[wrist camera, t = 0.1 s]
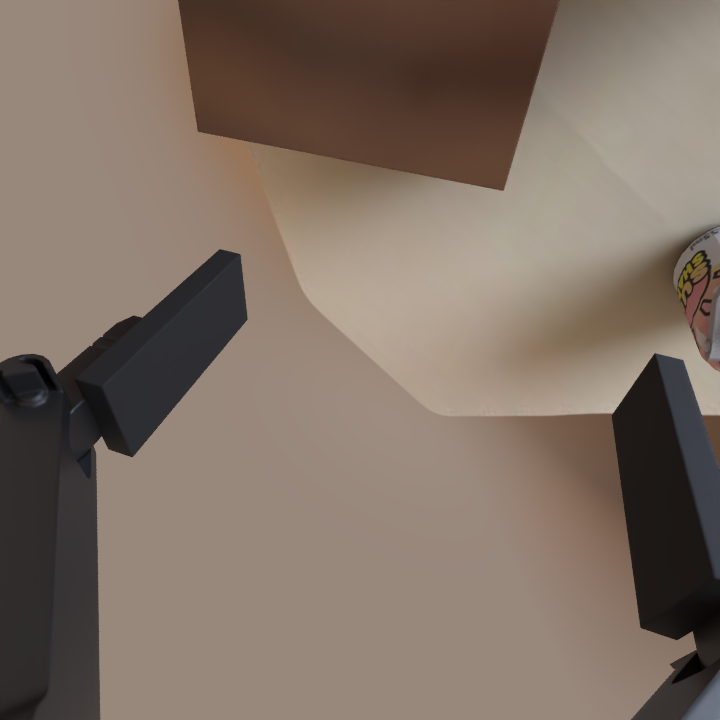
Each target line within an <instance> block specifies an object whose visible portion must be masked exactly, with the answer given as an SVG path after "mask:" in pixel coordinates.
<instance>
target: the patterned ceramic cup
mask: <svg viewBox="0 0 720 720" xmlns="http://www.w3.org/2000/svg"><path fill="white" fill-rule="evenodd" d="M673 284H674V286H675V289H676V292H677V294H678V297H679V299H680V302H681V305H682V307H683V310H684V312H685V315H686V318H687V320H688V323H689V326H690V328H691V331H692V333H693V336H694V339H695V341H696V344H697V346H698V349H699V352H700V354H701V357H702V358H703V359H704V360H705V361H706V362H708V363H709V364H710V365H711V366H712V367H713V368H714V369H715V370H717V371H720V226H719V227H716V228H714V229H711V230H710V231H708V232H706V233H705V234H703V235H702V236H700V237H699V238H697V239H696V240H694V241H693V242H692V243H691V244H690V245H689V247H688V248H687V249H686V250H685V251H684V252H683V253H682V254H681V256H680V258H679V260H678V263H677V265H676V267H675V269H674V279H673Z"/></svg>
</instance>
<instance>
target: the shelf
mask: <svg viewBox="0 0 720 720" xmlns="http://www.w3.org/2000/svg"><path fill="white" fill-rule="evenodd" d="M559 1H560V0H178V2H179V9H180V15H181V22H182V29H183V35H184V42H185V49H186V56H187V62H188V69H189V75H190V82H191V89H192V96H193V102H194V108H195V116H196V122H197V129H198V132H203V133H208V134H214V135H218V136H223V137H229V138H234V139H239V140H244V141H249V142H254V143H260V144H265V145H270V146H275V147H280V148H285V149H291V150H296V151H301V152H306V153H311V154H316V155H322V156H327V157H332V158H337V159H342V160H347V161H353V162H358V163H363V164H368V165H373V166H378V167H383V168H389V169H394V170H399V171H404V172H409V173H414V174H420V175H425V176H430V177H435V178H440V179H445V180H451V181H456V182H461V183H466V184H471V185H476V186H482V187H487V188H492V189H497V190H502V191H503V190H504V188H505V184H506V181H507V178H508V174H509V171H510V167H511V164H512V161H513V157H514V154H515V151H516V147H517V144H518V140H519V137H520V134H521V130H522V127H523V123H524V120H525V117H526V113H527V110H528V106H529V103H530V100H531V96H532V93H533V90H534V86H535V83H536V79H537V76H538V73H539V69H540V66H541V62H542V59H543V56H544V52H545V49H546V45H547V42H548V39H549V35H550V32H551V29H552V25H553V22H554V18H555V15H556V12H557V8H558V5H559Z"/></svg>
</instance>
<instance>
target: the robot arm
mask: <svg viewBox="0 0 720 720" xmlns="http://www.w3.org/2000/svg"><path fill="white" fill-rule="evenodd" d="M246 321H247V310H246V300H245V292H244V283H243V273H242V264H241V256H240V254H237V253H233V252H229V251H225V250H221V249H220V250H218V251H217V252H216V253H215V254H214V255H213V256H212V257H211V258H210V259H208V260H207V261H206V262H205V263H204V264H203V265H202V266H200V267H199V268H198V269H197V270H196V271H195V272H194V273H193V274H191V275H190V276H189V277H188V278H187V279H186V280H185V281H183V282H182V283H181V284H180V285H179V286H178V287H177V288H176V289H174V290H173V291H172V292H171V293H170V294H169V295H168V296H167V297H166V298H164V299H163V300H162V301H161V302H160V303H159V304H158V305H156V306H155V307H154V308H153V309H152V310H151V311H150V312H149V313H147V314H146V315H145V316H144V317H143V318H141V317H137V316H132V317H130V318H128V319H125V320H123V321H121V322H119V323H117V324H115V325H114V326H113V327H112V328H111V329H109V330H108V331H107V332H106V333H105V334H104V335H103V337H100V338H99V339H98V340H96V341H95V342H94V343H93V345H92V346H89V347H88V348H87V349H86V350H85V351H83V352H82V353H81V354H80V355H79V356H77V358H75V359H74V360H73V361H72V362H70V363H69V364H68V365H67V366H66V367H64V368H63V369H62V370H61V371H60V372H59V373H57V374H56V373H55V371H54V369H53V367H52V365H51V363H50V361H49V360H47V359H46V358H45V357H44V356H41V355H36V354H26V355H19V356H15V357H12V358H9V359H7V360H5V361H3V362H1V363H0V720H100V680H99V613H98V546H97V482H96V481H97V480H96V451H95V448H94V446H93V445H94V444H95V443H96V442H97V441H98V440H99V439H100V437H101V436H102V437H103V439H104V441H105V443H106V445H107V447H108V449H110V450H112V451H115V452H119V453H121V454H124V455H127V456H130V457H133V456H134V455H135V454H136V453H137V451H138V450H139V449H140V448H141V446H142V445H143V444H144V443H145V442H146V441H147V439H148V438H149V437H150V436H151V435H152V433H153V432H154V431H155V430H156V429H157V427H158V426H159V425H160V424H161V423H162V421H163V420H164V419H165V418H166V417H167V415H168V414H169V413H170V412H171V411H172V409H173V408H174V407H175V406H176V404H177V403H178V402H179V401H180V400H181V399H182V397H183V396H184V395H185V394H186V393H187V391H188V390H189V389H190V388H191V387H192V385H193V384H194V383H195V382H196V380H197V379H198V378H199V377H200V376H201V375H202V373H203V372H204V371H205V370H206V369H207V367H208V366H209V365H210V364H211V363H212V361H213V360H214V359H215V358H216V356H217V355H218V354H219V353H220V352H221V351H222V349H223V348H224V347H225V346H226V345H227V343H228V342H229V341H230V340H231V339H232V337H233V336H234V335H235V334H236V332H237V331H238V330H239V329H240V328H241V327H242V325H243V324H244V323H245V322H246ZM612 421H613V429H614V436H615V443H616V451H617V458H618V465H619V473H620V480H621V487H622V495H623V502H624V510H625V517H626V524H627V532H628V539H629V546H630V554H631V560H632V569H633V576H634V583H635V590H636V598H637V605H638V613H639V619H640V627H641V628H642V629H646V630H648V631H651V632H654V633H657V634H660V635H663V636H666V637H669V638H672V639H675V640H678V639H680V638H682V637H683V636H685V635H687V634H688V633H690V632H692V631H693V634H694V639H695V643H696V648H697V650H695V651H693V652H691V653H690V654H688V655H686V656H684V657H682V658H680V659H678V660H676V661H675V662H673V663H671V664H670V665H671V666H672V667H673V668H674V669H675V670H674V671H673V673H672V674H671V675H670V676H669V677H668V678H667V679H666V681H665V682H664V683H663V684H662V685H661V686H660V687H659V688H658V690H657V691H656V692H655V693H654V694H653V695H652V696H651V698H650V699H649V700H648V701H647V702H646V703H645V704H644V705H643V707H642V708H641V709H640V710H639V711H638V712H637V713H636V715H635V716H634V717H633V718H632V719H631V720H720V469H719V466H718V464H717V460H716V458H715V454H714V451H713V448H712V446H711V442H710V439H709V436H708V433H707V430H706V427H705V424H704V421H703V418H702V415H701V412H700V409H699V406H698V403H697V400H696V397H695V394H694V391H693V388H692V385H691V382H690V379H689V376H688V373H687V370H686V367H685V364H684V361H683V360H680V359H676V358H672V357H668V356H664V355H659V354H654V355H653V357H652V358H651V360H650V361H649V362H648V364H647V365H646V367H645V368H644V370H643V371H642V373H641V374H640V375H639V377H638V378H637V380H636V381H635V383H634V384H633V386H632V387H631V389H630V390H629V391H628V393H627V394H626V396H625V397H624V399H623V400H622V402H621V403H620V404H619V406H618V407H617V409H616V410H615V412H614V413H613V415H612Z"/></svg>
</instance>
